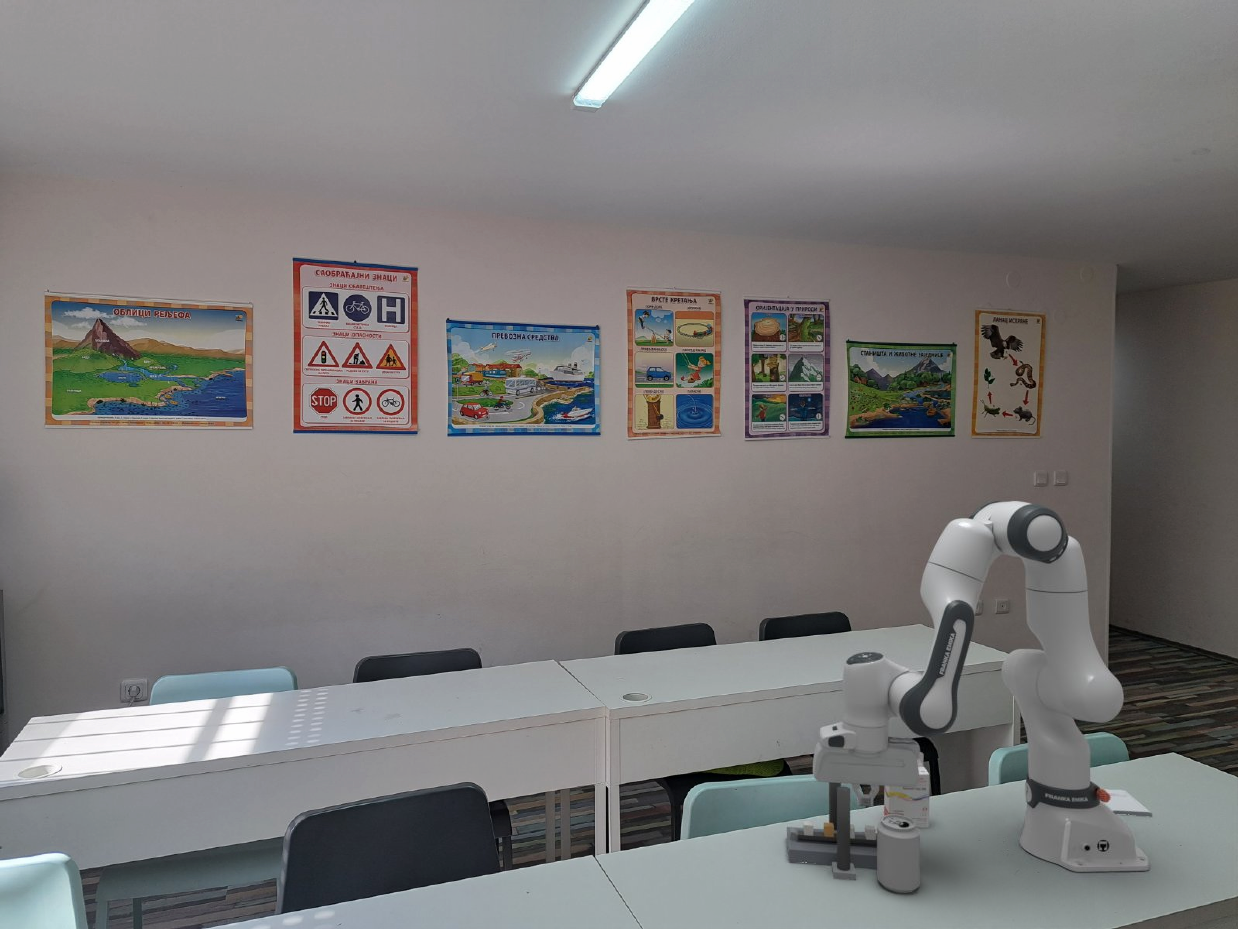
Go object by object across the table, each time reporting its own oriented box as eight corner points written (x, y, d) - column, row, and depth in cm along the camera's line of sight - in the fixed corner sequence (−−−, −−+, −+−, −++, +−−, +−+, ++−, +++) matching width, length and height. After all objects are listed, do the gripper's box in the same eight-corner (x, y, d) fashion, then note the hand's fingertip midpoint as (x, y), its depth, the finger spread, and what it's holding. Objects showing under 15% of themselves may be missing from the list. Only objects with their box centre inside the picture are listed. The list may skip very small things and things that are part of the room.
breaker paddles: (879, 840, 163) (879, 826, 163) (881, 844, 161) (881, 830, 161) (797, 834, 165) (797, 820, 165) (798, 838, 163) (798, 824, 163)
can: (914, 899, 146) (914, 832, 146) (872, 888, 150) (872, 823, 150) (923, 881, 153) (923, 817, 153) (882, 870, 157) (882, 808, 156)
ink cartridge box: (888, 827, 175) (888, 758, 175) (883, 817, 180) (883, 750, 180) (930, 828, 175) (930, 760, 174) (923, 818, 179) (923, 751, 179)
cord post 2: (853, 869, 157) (853, 785, 157) (855, 880, 153) (855, 793, 153) (831, 868, 158) (831, 784, 158) (833, 878, 154) (833, 792, 154)
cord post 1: (843, 832, 173) (843, 755, 173) (845, 841, 169) (846, 762, 169) (824, 831, 173) (824, 754, 173) (826, 839, 169) (826, 761, 169)
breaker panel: (886, 846, 167) (886, 826, 167) (895, 870, 157) (895, 849, 157) (786, 839, 170) (786, 819, 170) (789, 862, 160) (789, 841, 160)
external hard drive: (1112, 817, 182) (1088, 794, 194) (1152, 819, 180) (1125, 796, 193) (1112, 810, 182) (1088, 787, 194) (1152, 812, 180) (1125, 789, 193)
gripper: (916, 733, 164) (916, 802, 164) (812, 728, 167) (812, 795, 167) (923, 743, 158) (923, 815, 158) (814, 738, 161) (814, 808, 161)
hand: (865, 805), depth 162 cm, fingers closed
